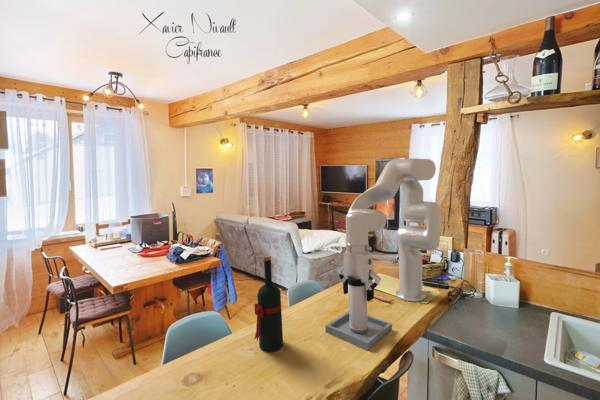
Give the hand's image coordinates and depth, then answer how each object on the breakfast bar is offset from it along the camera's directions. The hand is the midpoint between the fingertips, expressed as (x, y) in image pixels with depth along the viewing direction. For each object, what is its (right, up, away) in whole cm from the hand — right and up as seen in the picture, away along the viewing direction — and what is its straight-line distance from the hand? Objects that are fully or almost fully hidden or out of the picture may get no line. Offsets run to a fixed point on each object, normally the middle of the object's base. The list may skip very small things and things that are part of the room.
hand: (358, 296), depth 105 cm
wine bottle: (-31, -15, -6) cm, 34 cm away
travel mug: (+1, -12, +1) cm, 12 cm away
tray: (0, -13, +1) cm, 13 cm away
